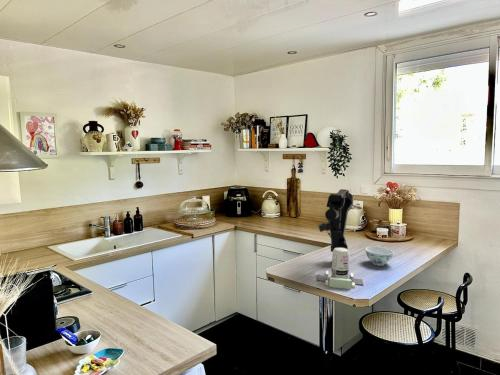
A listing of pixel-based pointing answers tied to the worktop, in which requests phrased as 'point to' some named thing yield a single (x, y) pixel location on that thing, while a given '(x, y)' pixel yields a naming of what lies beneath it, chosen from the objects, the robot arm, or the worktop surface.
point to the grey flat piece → (340, 281)
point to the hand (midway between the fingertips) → (333, 247)
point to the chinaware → (379, 255)
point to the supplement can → (340, 263)
